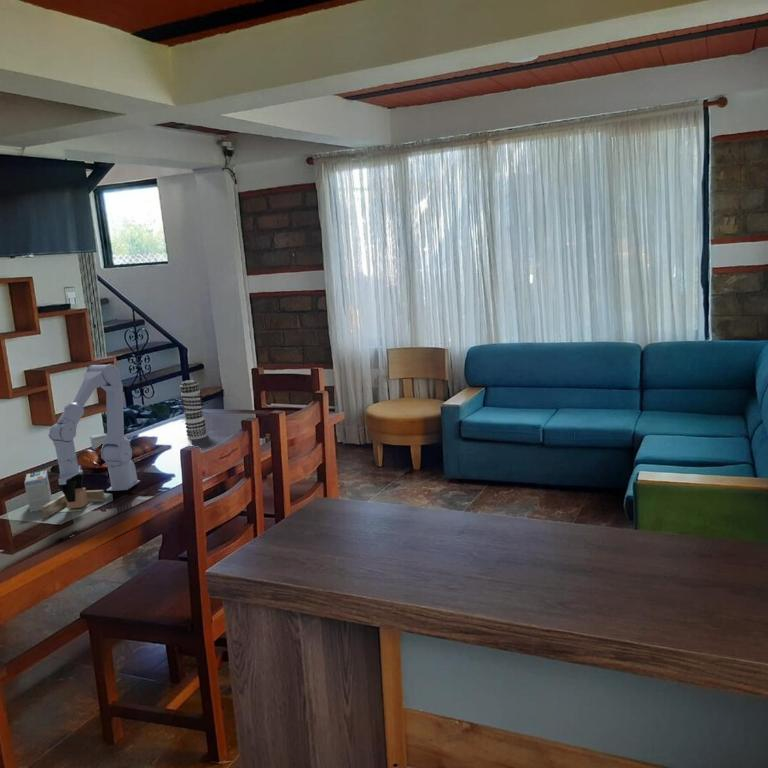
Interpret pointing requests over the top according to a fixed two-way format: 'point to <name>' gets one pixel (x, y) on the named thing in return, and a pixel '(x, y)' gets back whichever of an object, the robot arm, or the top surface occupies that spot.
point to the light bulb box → (37, 490)
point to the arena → (61, 503)
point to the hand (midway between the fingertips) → (74, 498)
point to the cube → (78, 499)
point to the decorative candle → (193, 409)
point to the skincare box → (97, 440)
